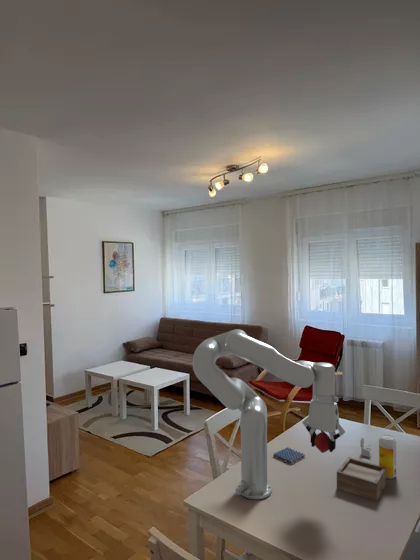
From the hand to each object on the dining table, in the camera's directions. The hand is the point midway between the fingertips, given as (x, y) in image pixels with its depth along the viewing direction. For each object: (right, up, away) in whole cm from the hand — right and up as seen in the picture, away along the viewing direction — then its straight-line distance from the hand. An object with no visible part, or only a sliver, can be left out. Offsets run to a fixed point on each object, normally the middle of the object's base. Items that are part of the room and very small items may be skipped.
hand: (322, 447), depth 136 cm
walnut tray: (+16, -17, +6) cm, 24 cm away
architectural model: (+33, -17, +33) cm, 49 cm away
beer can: (+30, -17, +13) cm, 37 cm away
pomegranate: (0, -2, 0) cm, 2 cm away
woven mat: (-6, -18, +29) cm, 35 cm away
